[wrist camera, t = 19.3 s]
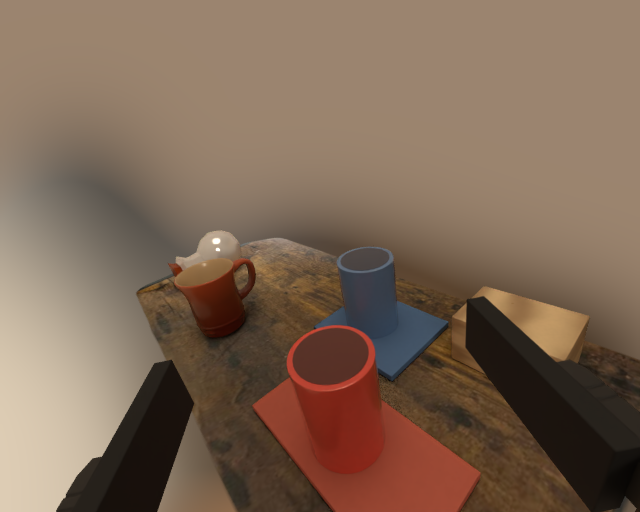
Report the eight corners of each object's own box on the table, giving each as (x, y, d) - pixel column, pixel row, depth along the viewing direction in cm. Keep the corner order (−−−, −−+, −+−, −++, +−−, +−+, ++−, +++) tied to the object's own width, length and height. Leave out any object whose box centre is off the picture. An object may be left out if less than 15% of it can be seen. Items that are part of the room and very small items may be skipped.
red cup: (401, 431, 28) (394, 348, 23) (346, 495, 24) (325, 409, 20) (347, 388, 33) (332, 314, 29) (294, 434, 29) (269, 357, 25)
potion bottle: (250, 266, 72) (193, 302, 65) (227, 239, 75) (169, 271, 68) (250, 243, 64) (184, 281, 57) (223, 215, 68) (158, 247, 60)
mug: (210, 353, 44) (185, 294, 39) (190, 329, 50) (166, 276, 46) (277, 312, 50) (262, 257, 46) (252, 295, 56) (236, 246, 52)
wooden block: (578, 361, 32) (590, 316, 29) (554, 409, 28) (565, 360, 25) (481, 324, 39) (484, 285, 37) (451, 357, 35) (451, 316, 33)
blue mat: (448, 326, 40) (448, 321, 40) (392, 381, 34) (391, 376, 33) (369, 293, 50) (368, 289, 50) (314, 330, 44) (313, 326, 44)
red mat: (480, 478, 24) (480, 472, 24) (404, 603, 19) (403, 598, 18) (321, 358, 39) (320, 354, 38) (253, 410, 34) (251, 405, 33)
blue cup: (409, 318, 42) (405, 253, 38) (375, 346, 38) (366, 278, 34) (370, 300, 47) (362, 242, 43) (336, 324, 43) (325, 263, 39)
